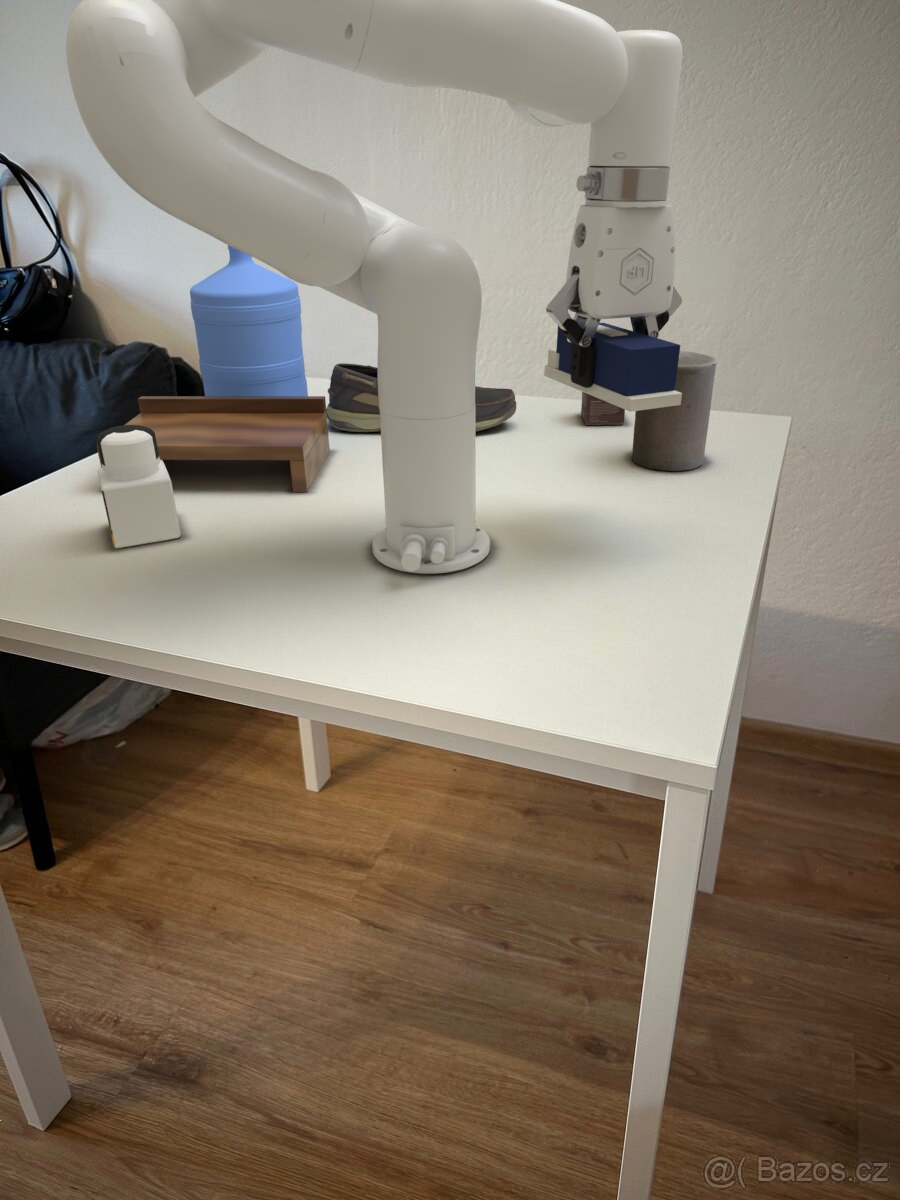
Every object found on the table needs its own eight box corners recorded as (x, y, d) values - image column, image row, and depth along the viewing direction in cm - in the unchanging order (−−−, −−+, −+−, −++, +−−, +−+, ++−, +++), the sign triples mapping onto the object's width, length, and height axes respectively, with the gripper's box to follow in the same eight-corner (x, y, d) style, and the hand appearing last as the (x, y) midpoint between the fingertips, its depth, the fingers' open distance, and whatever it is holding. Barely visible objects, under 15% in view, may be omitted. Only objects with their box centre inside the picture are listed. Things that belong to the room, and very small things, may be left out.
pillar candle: (625, 467, 115) (635, 353, 108) (637, 445, 123) (647, 338, 116) (700, 475, 112) (715, 358, 105) (707, 452, 120) (722, 342, 113)
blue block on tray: (680, 405, 84) (688, 344, 81) (630, 411, 82) (636, 349, 79) (589, 370, 97) (594, 317, 94) (543, 375, 95) (546, 321, 92)
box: (624, 425, 132) (628, 377, 128) (584, 426, 132) (587, 377, 128) (618, 414, 137) (621, 367, 134) (580, 414, 137) (582, 368, 134)
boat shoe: (517, 437, 127) (519, 363, 122) (320, 438, 128) (314, 366, 123) (514, 416, 137) (516, 347, 132) (331, 418, 138) (325, 349, 133)
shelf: (307, 492, 108) (301, 430, 105) (106, 491, 110) (92, 430, 106) (329, 451, 123) (325, 396, 119) (151, 451, 124) (141, 396, 120)
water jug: (281, 446, 125) (258, 238, 112) (188, 437, 130) (156, 236, 116) (328, 417, 138) (313, 227, 125) (242, 409, 143) (219, 226, 129)
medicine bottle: (109, 526, 100) (87, 425, 94) (173, 516, 102) (155, 416, 96) (114, 549, 94) (91, 443, 88) (181, 538, 96) (162, 434, 91)
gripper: (569, 191, 74) (556, 398, 83) (726, 189, 81) (699, 381, 89) (526, 188, 80) (518, 381, 89) (675, 186, 87) (654, 366, 95)
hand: (609, 379), depth 89 cm, fingers closed on blue block on tray, 6 cm apart
